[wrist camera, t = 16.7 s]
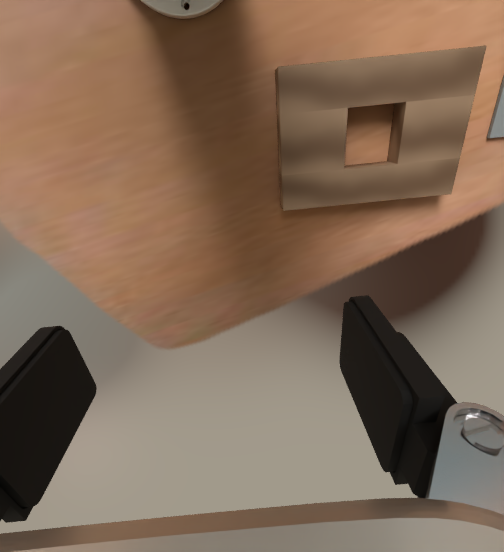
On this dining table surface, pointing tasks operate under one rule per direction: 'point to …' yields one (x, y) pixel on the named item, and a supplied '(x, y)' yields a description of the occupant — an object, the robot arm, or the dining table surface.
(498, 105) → the rubber mat
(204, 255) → the dining table surface
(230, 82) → the dining table surface
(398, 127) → the brown board with hole
